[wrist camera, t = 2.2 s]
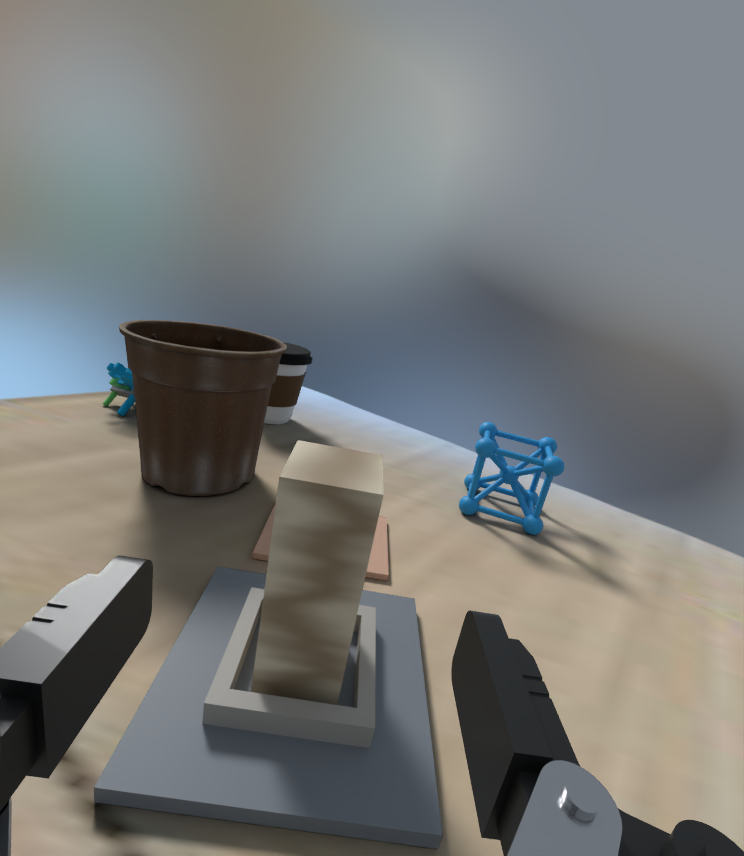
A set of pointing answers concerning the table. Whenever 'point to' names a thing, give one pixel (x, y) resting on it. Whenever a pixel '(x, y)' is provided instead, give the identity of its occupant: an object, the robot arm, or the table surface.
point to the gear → (121, 386)
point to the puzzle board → (284, 729)
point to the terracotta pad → (377, 557)
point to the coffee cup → (287, 384)
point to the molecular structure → (512, 477)
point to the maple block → (316, 570)
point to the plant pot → (199, 402)
